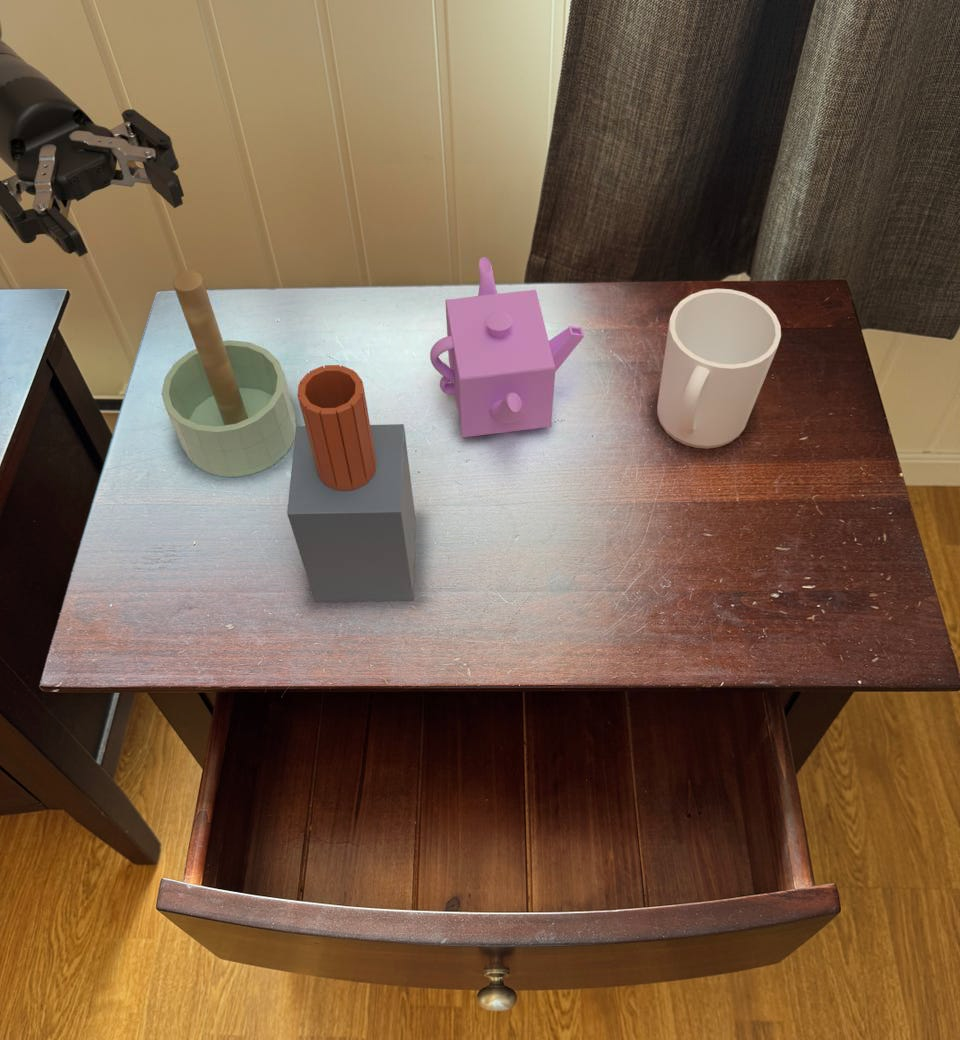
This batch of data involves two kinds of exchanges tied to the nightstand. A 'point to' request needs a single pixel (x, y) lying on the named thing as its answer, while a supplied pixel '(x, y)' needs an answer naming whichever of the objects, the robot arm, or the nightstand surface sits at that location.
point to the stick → (210, 345)
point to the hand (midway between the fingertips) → (129, 220)
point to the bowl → (202, 423)
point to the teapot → (500, 359)
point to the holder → (350, 494)
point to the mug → (715, 365)
